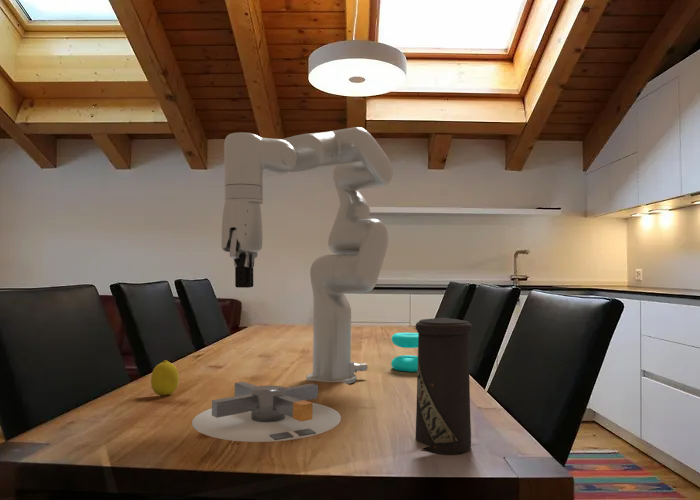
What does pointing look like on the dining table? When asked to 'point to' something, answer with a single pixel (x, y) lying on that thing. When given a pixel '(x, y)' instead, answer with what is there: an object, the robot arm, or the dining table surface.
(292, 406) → the capstan
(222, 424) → the stand
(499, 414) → the dining table surface
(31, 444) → the dining table surface
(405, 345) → the donuts
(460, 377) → the container
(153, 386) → the lemon
